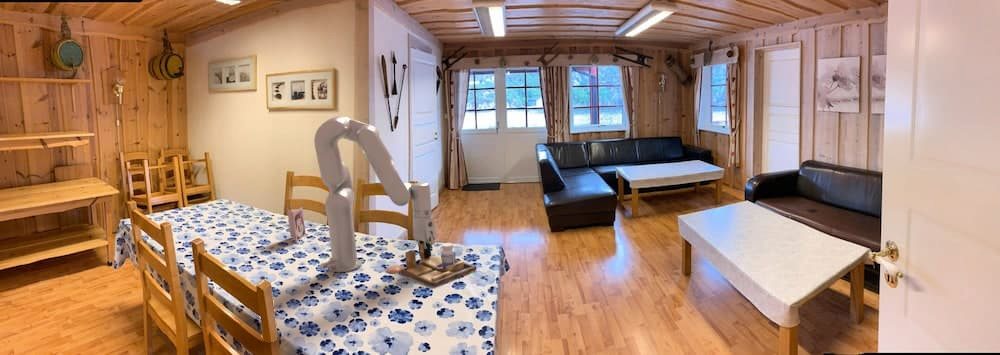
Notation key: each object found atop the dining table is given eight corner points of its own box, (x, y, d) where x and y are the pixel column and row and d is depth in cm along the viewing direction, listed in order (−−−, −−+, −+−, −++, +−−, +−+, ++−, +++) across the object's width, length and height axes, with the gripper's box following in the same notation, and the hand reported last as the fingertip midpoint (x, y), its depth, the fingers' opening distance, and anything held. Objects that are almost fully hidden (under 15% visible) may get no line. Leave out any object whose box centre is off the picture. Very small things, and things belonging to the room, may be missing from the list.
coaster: (393, 274, 188) (393, 273, 188) (382, 270, 193) (382, 269, 193) (408, 269, 193) (408, 268, 193) (397, 265, 198) (397, 264, 197)
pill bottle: (448, 264, 196) (447, 241, 194) (458, 267, 193) (457, 243, 191) (439, 269, 192) (437, 245, 190) (449, 271, 189) (448, 247, 187)
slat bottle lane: (448, 273, 187) (447, 256, 185) (415, 261, 201) (414, 245, 199) (463, 267, 192) (462, 250, 191) (431, 256, 206) (430, 240, 205)
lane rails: (433, 287, 175) (433, 280, 174) (400, 273, 189) (400, 267, 188) (476, 269, 190) (476, 264, 189) (443, 258, 203) (442, 253, 203)
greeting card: (298, 243, 231) (294, 212, 228) (282, 244, 231) (278, 213, 228) (307, 236, 242) (304, 206, 239) (292, 236, 242) (288, 207, 239)
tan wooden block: (415, 277, 185) (414, 259, 183) (401, 271, 191) (399, 254, 190) (432, 270, 190) (431, 253, 189) (417, 265, 197) (416, 248, 195)
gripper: (442, 214, 196) (444, 258, 200) (417, 208, 207) (420, 249, 211) (427, 218, 191) (430, 263, 194) (403, 212, 202) (406, 254, 205)
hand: (425, 256), depth 202 cm, fingers closed on slat bottle lane, 2 cm apart
